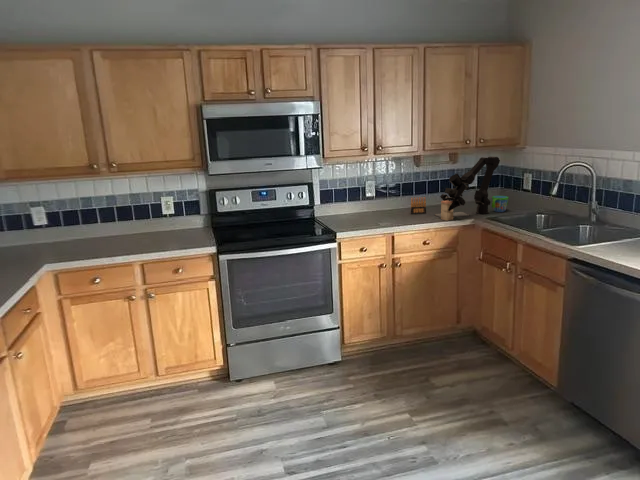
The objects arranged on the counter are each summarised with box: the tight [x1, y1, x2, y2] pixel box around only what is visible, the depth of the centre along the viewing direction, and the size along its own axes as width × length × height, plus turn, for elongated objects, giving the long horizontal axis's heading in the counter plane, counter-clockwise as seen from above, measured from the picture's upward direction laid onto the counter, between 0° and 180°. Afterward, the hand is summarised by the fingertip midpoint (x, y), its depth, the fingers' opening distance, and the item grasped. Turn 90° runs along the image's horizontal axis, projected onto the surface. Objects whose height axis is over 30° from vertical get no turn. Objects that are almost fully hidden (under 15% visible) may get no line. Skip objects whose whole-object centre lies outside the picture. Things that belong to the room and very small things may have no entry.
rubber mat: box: [434, 211, 470, 219], centre depth 345 cm, size 20×11×1 cm, turn 101°
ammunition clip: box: [410, 196, 427, 215], centre depth 355 cm, size 11×2×12 cm, turn 88°
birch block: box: [440, 200, 454, 222], centre depth 333 cm, size 6×6×12 cm
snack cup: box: [491, 195, 509, 213], centre depth 352 cm, size 16×10×10 cm
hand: (445, 209), depth 332 cm, fingers closed on birch block, 5 cm apart
